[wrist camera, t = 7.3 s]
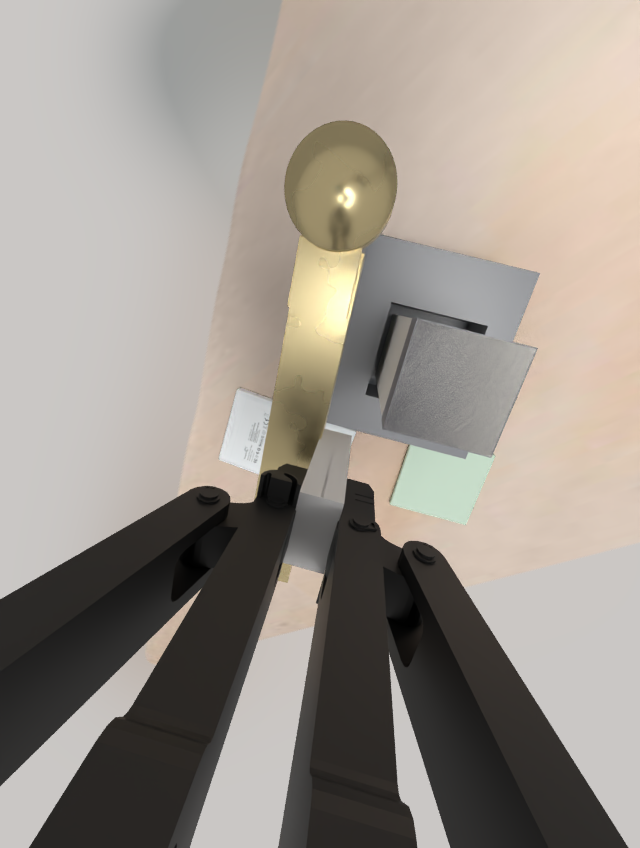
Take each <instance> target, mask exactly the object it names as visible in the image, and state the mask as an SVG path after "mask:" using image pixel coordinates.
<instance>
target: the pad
mask: <svg viewBox="0 0 640 848" xmlns="http://www.w3.org/2000/svg"><path fill="white" fill-rule="evenodd" d="M494 458H495V455H494V454H493V455H492V457H491V458H489V457H486V456H482V455H478V454H474V453H470V452H468V454H467V457H466V459H463V458H459V457H455V456H451V455H447V454H444V453H440V452H436V451H432V450H428V449H424V448H421V447H417V446H413V445H409V447H408V450H407V453H406V455H405V458H404V461H403V464H402V467H401V470H400V473H399V476H398V479H397V482H396V485H395V488H394V491H393V494H392V497H391V500H390V505H393V506H397V507H400V508H404V509H408V510H411V511H415V512H419V513H423V514H426V515H430V516H434V517H437V518H441V519H445V520H449V521H452V522H456V523H460V524H464V525H466V523H467V521H468V519H469V516H470V514H471V512H472V509H473V507H474V505H475V502H476V500H477V498H478V495H479V493H480V491H481V488H482V486H483V484H484V481H485V479H486V477H487V474H488V472H489V470H490V467H491V465H492V463H493V460H494Z"/></svg>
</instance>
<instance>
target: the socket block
mask: <svg viewBox="0 0 640 848" xmlns="http://www.w3.org/2000/svg"><path fill="white" fill-rule="evenodd" d="M362 253H364V254H365V261H364V265H363V269H362V273H361V278H360V282H359V286H358V290H357V294H356V299H355V303H354V307H353V311H352V316H351V320H350V324H349V328H348V333H347V337H346V341H345V345H344V350H343V354H342V358H341V362H340V366H339V371H338V375H337V379H336V383H335V388H334V392H333V396H332V400H331V405H330V409H329V413H328V417H327V422H326V423H329V424H333V425H337V426H341V427H344V428H348V429H352V430H356V431H360V432H363V433H367V434H371V435H375V436H379V437H383V438H386V439H390V440H394V441H398V442H402V443H405V444H409V445H413V446H417V447H421V448H424V449H428V450H432V451H436V452H440V453H444V454H447V455H451V456H455V457H459V458H463V459H466V457H467V454H468V452H466V451H463V450H459V449H455V448H451V447H447V446H443V445H440V444H436V443H432V442H428V441H424V440H421V439H417V438H413V437H409V436H405V435H401V434H398V433H394V432H390V431H386V430H383V428H382V421H381V418H382V414H381V408H380V402H379V395H378V389H377V383H376V377H375V376H376V373H377V369H378V366H379V362H380V359H381V355H382V352H383V348H384V345H385V342H386V338H387V335H388V331H389V328H390V324H391V321H392V317H393V314H395V315H400V316H405V317H409V318H412V317H414V318H419V319H423V320H427V321H431V322H435V323H439V324H443V325H447V326H451V327H455V328H459V329H463V330H467V331H471V332H475V333H479V334H483V335H487V336H491V337H495V338H499V339H503V340H507V341H511V342H513V340H514V337H515V335H516V332H517V330H518V327H519V325H520V322H521V320H522V317H523V315H524V312H525V310H526V307H527V305H528V302H529V300H530V297H531V295H532V292H533V290H534V287H535V285H536V282H537V280H538V277H539V275H540V273H537V272H533V271H529V270H525V269H521V268H517V267H513V266H508V265H504V264H500V263H496V262H492V261H488V260H484V259H480V258H475V257H471V256H467V255H463V254H459V253H455V252H451V251H446V250H442V249H438V248H434V247H430V246H426V245H422V244H417V243H413V242H409V241H405V240H401V239H397V238H393V237H389V236H384V235H380V236H379V237H378V238H377V239H376V240H375V241H374V242H373V243H372V244H370V245H369V246H368V247H366V248H364V249H363V250H362Z"/></svg>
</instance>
